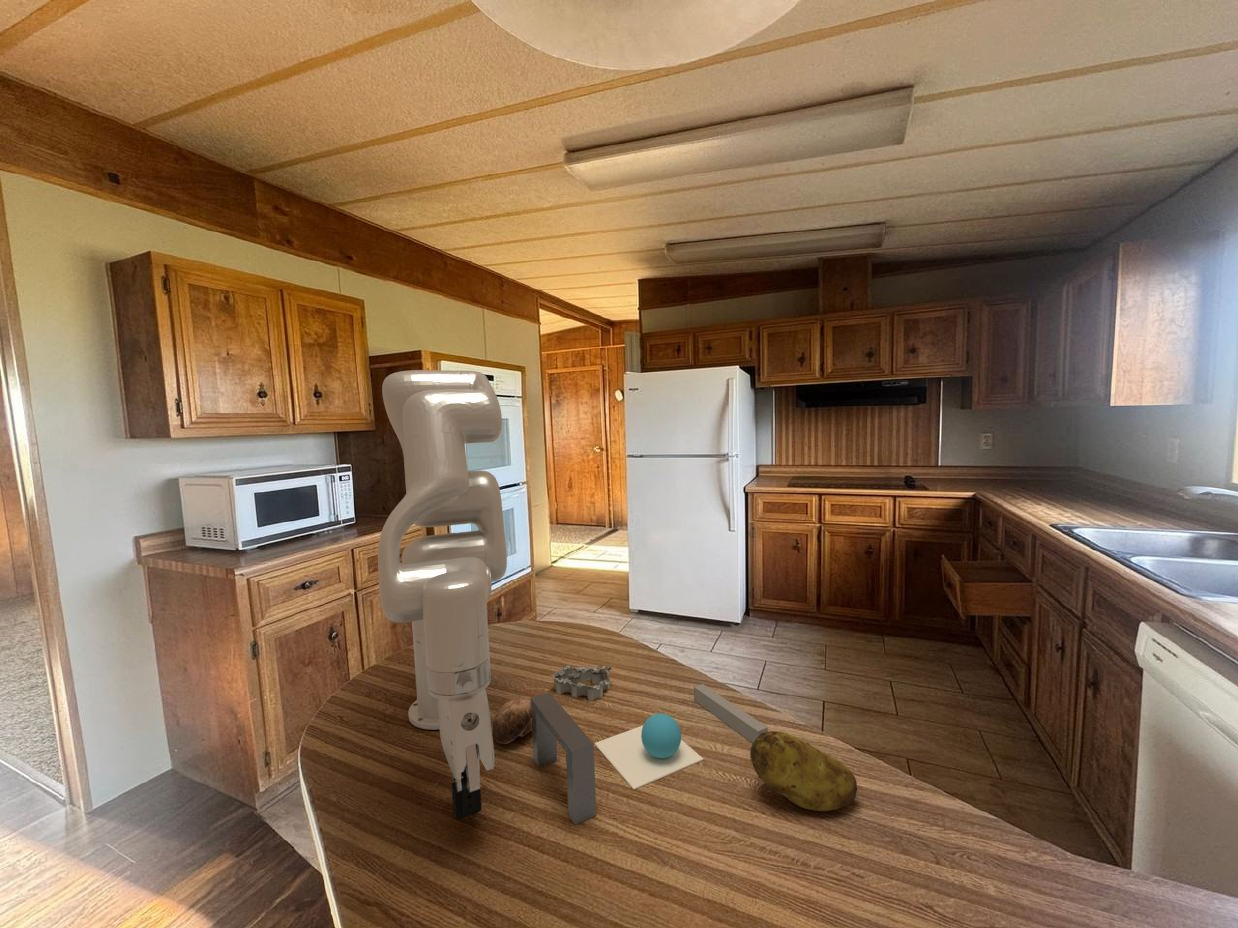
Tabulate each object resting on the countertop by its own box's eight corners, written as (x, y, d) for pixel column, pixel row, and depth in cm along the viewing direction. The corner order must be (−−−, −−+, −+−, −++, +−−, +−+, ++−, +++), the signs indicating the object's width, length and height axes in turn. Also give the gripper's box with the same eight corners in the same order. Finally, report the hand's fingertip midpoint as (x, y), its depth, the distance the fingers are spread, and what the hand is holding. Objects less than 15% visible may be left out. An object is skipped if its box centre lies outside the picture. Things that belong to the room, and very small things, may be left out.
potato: (849, 839, 62) (849, 775, 62) (744, 800, 69) (743, 742, 68) (859, 795, 69) (860, 738, 69) (763, 764, 76) (762, 711, 75)
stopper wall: (694, 700, 94) (693, 686, 94) (703, 696, 95) (702, 683, 95) (758, 746, 80) (758, 731, 80) (767, 742, 81) (767, 727, 81)
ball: (675, 720, 83) (653, 754, 82) (650, 699, 82) (627, 734, 80) (695, 736, 78) (673, 773, 76) (669, 715, 76) (645, 752, 74)
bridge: (574, 824, 66) (571, 751, 65) (533, 759, 79) (530, 697, 78) (596, 815, 67) (593, 743, 67) (552, 753, 80) (549, 692, 80)
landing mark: (594, 744, 82) (594, 743, 82) (658, 720, 88) (658, 719, 88) (633, 789, 72) (633, 788, 72) (703, 759, 78) (703, 758, 78)
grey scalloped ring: (615, 686, 101) (614, 666, 100) (596, 705, 94) (595, 684, 94) (569, 675, 105) (568, 656, 105) (548, 693, 99) (547, 672, 98)
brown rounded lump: (554, 708, 87) (530, 683, 86) (534, 752, 80) (507, 725, 79) (524, 718, 91) (500, 694, 90) (502, 761, 84) (476, 736, 83)
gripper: (506, 690, 61) (514, 839, 62) (474, 644, 74) (481, 768, 75) (439, 709, 57) (449, 867, 58) (418, 657, 70) (426, 787, 71)
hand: (467, 811), depth 67 cm, fingers closed
